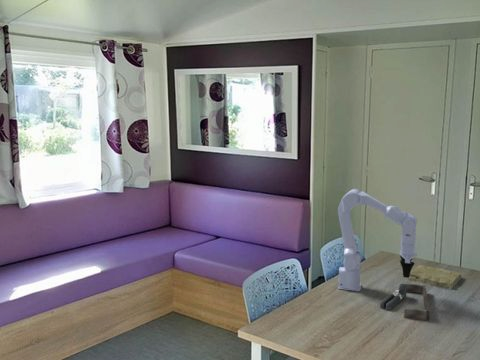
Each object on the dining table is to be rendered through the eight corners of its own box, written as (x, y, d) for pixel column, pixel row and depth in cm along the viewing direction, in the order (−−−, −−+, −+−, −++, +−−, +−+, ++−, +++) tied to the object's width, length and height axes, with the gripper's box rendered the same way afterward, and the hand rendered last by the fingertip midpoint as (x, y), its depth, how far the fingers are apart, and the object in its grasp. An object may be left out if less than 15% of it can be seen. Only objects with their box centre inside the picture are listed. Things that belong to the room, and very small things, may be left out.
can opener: (396, 294, 213) (397, 280, 212) (408, 297, 210) (409, 282, 208) (378, 308, 198) (379, 293, 197) (390, 311, 195) (391, 296, 194)
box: (404, 317, 190) (404, 308, 189) (403, 290, 216) (403, 282, 215) (428, 320, 187) (429, 311, 186) (424, 292, 213) (425, 285, 213)
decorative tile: (418, 270, 243) (419, 263, 243) (461, 279, 231) (462, 271, 231) (405, 281, 229) (406, 273, 228) (450, 291, 217) (451, 283, 216)
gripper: (418, 249, 198) (416, 281, 201) (417, 239, 212) (415, 269, 214) (400, 247, 200) (398, 279, 203) (400, 238, 214) (398, 267, 216)
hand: (405, 274), depth 209 cm, fingers open, 7 cm apart
